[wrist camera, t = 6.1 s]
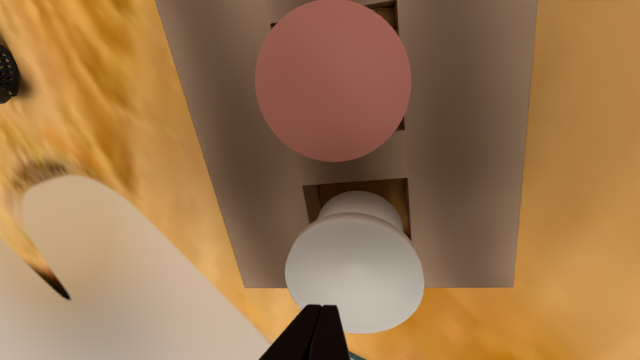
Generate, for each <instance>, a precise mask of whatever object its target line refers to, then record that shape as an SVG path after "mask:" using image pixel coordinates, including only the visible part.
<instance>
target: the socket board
mask: <svg viewBox="0 0 640 360" xmlns="http://www.w3.org/2000/svg"><path fill="white" fill-rule="evenodd" d="M313 1H316V0H155V2H156V5H157V8H158V12H159V15H160V18H161V21H162V24H163V28H164V31H165V34H166V37H167V40H168V44H169V47H170V50H171V53H172V56H173V60H174V63H175V66H176V69H177V72H178V76H179V79H180V82H181V85H182V88H183V92H184V95H185V98H186V101H187V104H188V108H189V111H190V114H191V117H192V120H193V124H194V127H195V130H196V133H197V136H198V140H199V143H200V146H201V149H202V153H203V156H204V159H205V162H206V165H207V169H208V172H209V175H210V178H211V181H212V185H213V188H214V191H215V194H216V197H217V201H218V204H219V207H220V210H221V213H222V217H223V220H224V223H225V226H226V229H227V233H228V236H229V239H230V242H231V245H232V249H233V252H234V255H235V258H236V261H237V265H238V268H239V271H240V274H241V277H242V281H243V284H244V287H245V288H288V287H287V284H286V279H285V266H286V261H287V258H288V255H289V253H290V250H291V248H292V246H293V243H294V242H295V240H296V238H297V236H298V235H299V234H300V232H301V231H302V230H303V229H304V228H305V227H307V226H308V225H309V224H311V223H312V222H314V221H316V220H317V218H318V215H319V212H320V210H321V204H320V199H319V193H318V188H317V184H329V183H342V182H356V181H369V180H382V179H396V178H406V192H407V208H408V223H409V236H407V237H408V238H409V239H410V240H411V241H412V243H413V244H414V246H415V247H416V249H417V251H418V253H419V256H420V259H421V264H422V270H423V276H424V288H490V287H513V285H514V273H515V261H516V249H517V237H518V225H519V214H520V202H521V190H522V178H523V166H524V155H525V143H526V131H527V119H528V107H529V95H530V84H531V72H532V60H533V48H534V36H535V25H536V13H537V1H538V0H348V1H352V2H355V3H358V4H361V5H363V6H365V7H367V8H369V9H376V8H381V7H387V6H392V5H395V20H396V33H397V35H398V36H399V38H400V40H401V41H402V43H403V45H404V48H405V50H406V53H407V56H408V60H409V64H410V70H411V93H410V99H409V103H408V106H407V110H406V112H405V114H404V117H403V119H402V121H401V122H400V124H399V126H398V127H397V129H396V130H395V131H394V133H393V134H392V135H391V136H390V137H389V138H388V139H387V140H386V141H385V142H384V143H383V144H382V145H381V146H379V147H378V148H377V149H375V150H373V151H372V152H370V153H368V154H366V155H364V156H362V157H359V158H356V159H352V160H348V161H341V162H327V161H320V160H315V159H312V158H309V157H306V156H303V155H301V154H299V153H297V152H296V151H294V150H292V149H291V148H289V147H288V146H287V145H286V144H284V143H283V142H282V141H281V140H280V139H279V138H278V137H277V136H276V135H275V134H274V133H273V131H272V130H271V128H270V127H269V126H268V124H267V122H266V120H265V119H264V117H263V115H262V112H261V110H260V107H259V104H258V100H257V96H256V90H255V70H256V64H257V59H258V55H259V52H260V49H261V47H262V45H263V43H264V41H265V39H266V37H267V35H268V34H269V32H270V31H271V29H272V28H273V27H274V26H275V25H276V24H277V23H278V21H279V20H281V19H282V18H283V17H284V16H285V15H286V14H288V13H289V12H291V11H292V10H294V9H295V8H297V7H299V6H302V5H304V4H306V3H309V2H313Z"/></svg>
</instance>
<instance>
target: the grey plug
mask: <svg viewBox="0 0 640 360" xmlns="http://www.w3.org/2000/svg"><path fill="white" fill-rule="evenodd" d="M285 279H286V284H287V287H288V290H289V292H290V294H291V296H292V298H293V299H294V301H295V302H296V304H297V305H298V306H299V307H300V308H301V309H302V310H303V308H304V307H305V306H306V305H308V304H320V305H322V306H323V305H337V307H338V310H339V314H340V318H341V322H342V326H343V331H344V332H349V333H358V334H366V333H376V332H381V331H385V330H388V329H391V328H393V327H395V326H397V325H399V324H401V323H402V322H404V321H405V320H407V319H408V318H409V317H410V316H411V315H412V314H413V313H414V312H415V310H416V309H417V307H418V306H419V304H420V302H421V299H422V297H423V292H424V276H423V270H422V264H421V259H420V256H419V253H418V251H417V249H416V247H415V246H414V244H413V243H412V241H411V240H410V239H409V238H408V237H407V236H406V234H405V233H403V226H402V221H401V218H400V216H399V214H398V212H397V210H396V209H395V208H394V207H393V205H392V204H391V203H389V202H388V201H387V200H385V199H384V198H382V197H380V196H378V195H376V194H373V193H370V192H366V191H348V192H344V193H341V194H338V195H336V196H334V197H333V198H331V199H330V200H329V201H327V202H326V203H325V204H324V206H323V207H322V208H321V210H320V212H319V215H318V218H317V220H316V221H314V222H312V223H311V224H309V225H308V226H307V227H305V228H304V229H303V230H302V231H301V232H300V234H299V235H298V236H297V238H296V240H295V242H294V243H293V246H292V248H291V250H290V253H289V255H288V258H287V261H286V266H285Z"/></svg>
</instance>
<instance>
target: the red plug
mask: <svg viewBox="0 0 640 360" xmlns="http://www.w3.org/2000/svg"><path fill="white" fill-rule="evenodd" d="M255 90H256V96H257V100H258V104H259V107H260V110H261V112H262V115H263V117H264V119H265V120H266V122H267V124H268V126H269V127H270V128H271V130H272V131H273V133H274V134H275V135H276V136H277V137H278V138H279V139H280V140H281V141H282V142H283V143H284V144H286V145H287V146H288V147H289V148H291V149H292V150H294V151H296V152H297V153H299V154H301V155H303V156H306V157H309V158H312V159H315V160H320V161H327V162H341V161H348V160H352V159H356V158H359V157H362V156H364V155H366V154H368V153H370V152H372V151H373V150H375V149H377V148H378V147H379V146H381V145H382V144H383V143H384V142H385V141H386V140H387V139H388V138H389V137H390V136H391V135H392V134H393V133H394V131H395V130H396V129H397V127H398V126H399V124H400V122H401V121H402V119H403V117H404V114H405V112H406V110H407V106H408V103H409V99H410V93H411V70H410V64H409V60H408V56H407V53H406V50H405V48H404V45H403V43H402V41H401V40H400V38H399V36H398V35H397V33H396V32H395V31H394V29H393V28H392V27H391V25H390V24H389V23H388V22H387V21H386V20H385V19H383V18H382V17H381V16H380V15H379V14H377V13H376V12H374V11H373V10H371V9H369V8H367V7H365V6H363V5H361V4H358V3H355V2H352V1H348V0H316V1H313V2H309V3H306V4H304V5H302V6H299V7H297V8H295V9H294V10H292V11H291V12H289V13H288V14H286V15H285V16H284V17H283V18H282V19H281V20H279V21H278V23H277V24H276V25H275V26H274V27H273V28H272V29H271V31H270V32H269V34H268V35H267V37H266V39H265V41H264V43H263V45H262V47H261V49H260V52H259V55H258V59H257V64H256V70H255Z"/></svg>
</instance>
